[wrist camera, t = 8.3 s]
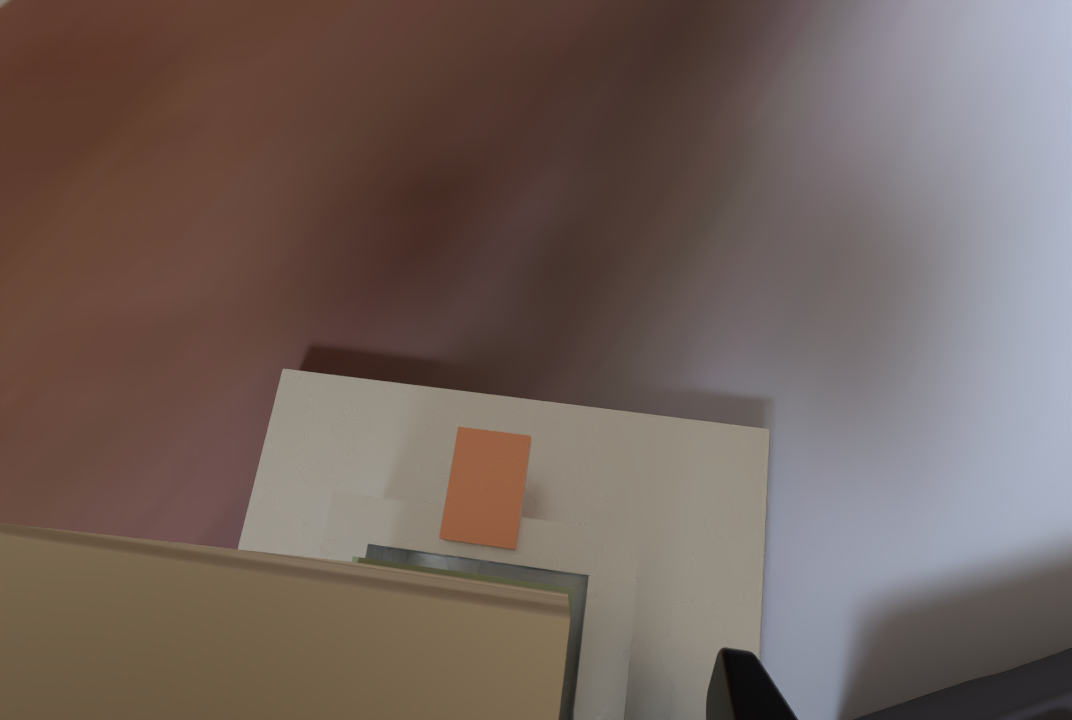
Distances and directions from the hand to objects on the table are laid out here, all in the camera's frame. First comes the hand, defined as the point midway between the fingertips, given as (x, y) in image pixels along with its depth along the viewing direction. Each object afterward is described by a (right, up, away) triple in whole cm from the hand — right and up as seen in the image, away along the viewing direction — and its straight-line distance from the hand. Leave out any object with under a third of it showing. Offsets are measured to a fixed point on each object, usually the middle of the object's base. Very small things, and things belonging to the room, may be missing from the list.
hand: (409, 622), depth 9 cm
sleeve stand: (0, -5, +10) cm, 11 cm away
